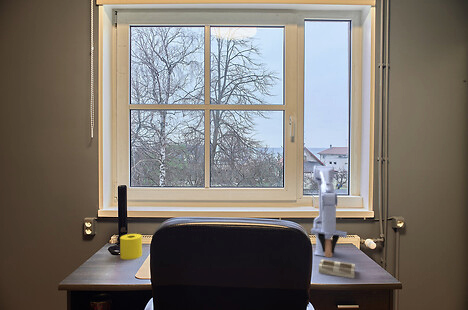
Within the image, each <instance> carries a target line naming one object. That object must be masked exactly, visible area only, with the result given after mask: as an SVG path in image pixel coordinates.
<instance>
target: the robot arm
mask: <svg viewBox="0 0 468 310" xmlns="http://www.w3.org/2000/svg"><path fill="white" fill-rule="evenodd" d="M312 173H313V182H314V183H315V184H317V187H318V216H317V217H315V218H313V219H314V220H313V224H312V225H313V227H312V228H311V229H310V233H311V235H314V236H315V251H314V255H315V256H320V257H321V256H322V257H326V256H325V239H332V254H334V253H335V248H336V246H337V243H338V241H339V238H340V237H341V238H347V237H348V235H347V233H348V232H347V231H342V230H338V229H337V230H336V227H337V226H336V225H337V224H336V222H337V221H336V219H337V206H338V194H337V193H338V192H336V191H335V188H334V187H335V186H334V184H333V181H334V179H335V167H334V165H316V164H315V165H314V166H313V170H312Z"/></svg>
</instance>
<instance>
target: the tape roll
mask: <svg viewBox="0 0 468 310" xmlns="http://www.w3.org/2000/svg"><path fill="white" fill-rule="evenodd" d="M119 240H120V241H119V242H120V244H119V246H120V249H119V250H120V259H122V260H125V261H126V260H128V261H129V260H135V259H139V258H141V257H142V256H143V235H142V234H140V233H128V234H124V235H121V236H120V237H119Z"/></svg>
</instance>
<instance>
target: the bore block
mask: <svg viewBox="0 0 468 310" xmlns="http://www.w3.org/2000/svg"><path fill="white" fill-rule="evenodd" d="M355 266H356V264H355V263H351V262H349V263H348V262H343V261H337V260H336V261H335V260H328V259H320V261H319V264H318V273H319V274H325V275H331V276H336V277H344V278H350V279H355V274H356V273H355V272H356V269H355V268H356V267H355Z"/></svg>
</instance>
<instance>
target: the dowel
mask: <svg viewBox="0 0 468 310" xmlns="http://www.w3.org/2000/svg"><path fill="white" fill-rule="evenodd" d="M324 257H326V258H332V257H333V253H332V238H331V239H325V256H324Z"/></svg>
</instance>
